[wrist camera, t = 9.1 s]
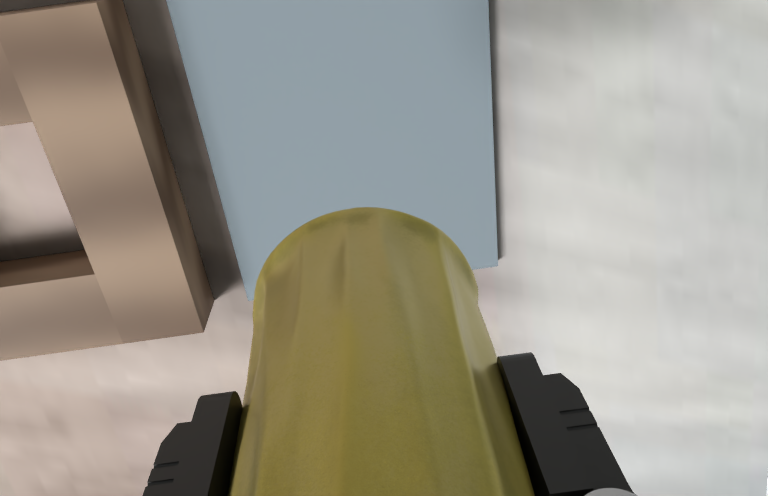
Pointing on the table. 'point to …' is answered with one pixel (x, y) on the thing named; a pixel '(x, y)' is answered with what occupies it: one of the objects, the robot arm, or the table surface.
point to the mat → (343, 114)
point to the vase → (373, 369)
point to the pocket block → (96, 189)
